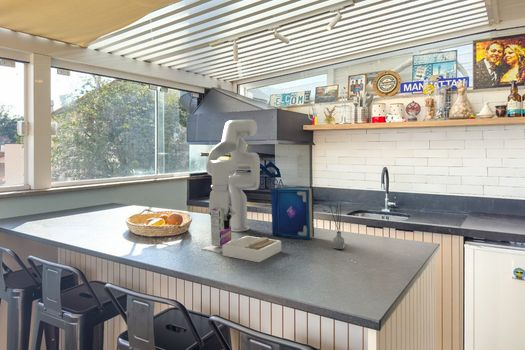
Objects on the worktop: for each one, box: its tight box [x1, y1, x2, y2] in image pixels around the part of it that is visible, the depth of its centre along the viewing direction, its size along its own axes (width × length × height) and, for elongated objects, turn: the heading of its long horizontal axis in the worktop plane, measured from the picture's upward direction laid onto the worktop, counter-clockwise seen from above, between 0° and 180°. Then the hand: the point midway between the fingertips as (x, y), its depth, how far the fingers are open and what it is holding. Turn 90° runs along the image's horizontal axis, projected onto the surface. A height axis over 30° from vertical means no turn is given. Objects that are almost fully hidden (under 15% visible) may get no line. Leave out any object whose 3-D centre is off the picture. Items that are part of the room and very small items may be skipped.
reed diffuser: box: [329, 203, 346, 250], centre depth 158 cm, size 10×7×20 cm
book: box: [270, 186, 315, 240], centre depth 180 cm, size 22×7×25 cm, turn 62°
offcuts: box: [248, 236, 274, 250], centre depth 150 cm, size 5×12×6 cm, turn 148°
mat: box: [201, 240, 232, 254], centre depth 162 cm, size 10×16×1 cm, turn 148°
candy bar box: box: [210, 208, 232, 246], centre depth 162 cm, size 11×5×16 cm, turn 160°
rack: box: [222, 235, 282, 263], centre depth 152 cm, size 18×18×4 cm
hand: (221, 227), depth 162 cm, fingers closed on candy bar box, 5 cm apart
